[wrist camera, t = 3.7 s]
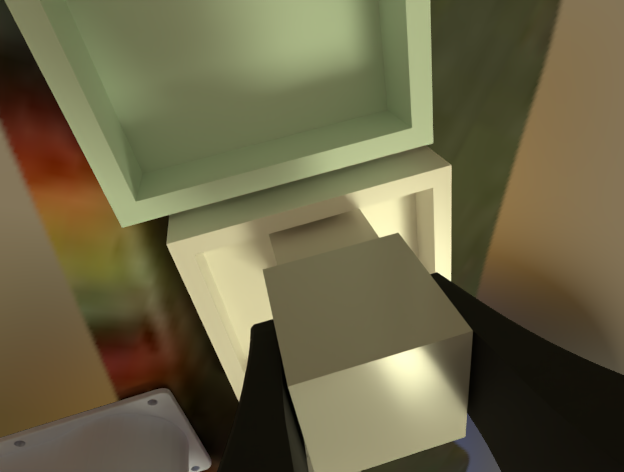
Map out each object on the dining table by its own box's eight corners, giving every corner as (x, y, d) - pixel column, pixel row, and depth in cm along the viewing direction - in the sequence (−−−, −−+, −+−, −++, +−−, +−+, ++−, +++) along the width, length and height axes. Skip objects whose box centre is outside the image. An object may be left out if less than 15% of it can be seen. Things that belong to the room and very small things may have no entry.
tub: (132, 190, 17) (122, 227, 15) (-56, -207, 11) (-130, -259, 8) (401, 119, 18) (433, 143, 16) (375, -282, 12) (422, -347, 9)
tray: (242, 382, 25) (247, 419, 23) (169, 212, 18) (166, 244, 16) (430, 323, 26) (450, 354, 24) (423, 144, 19) (451, 165, 17)
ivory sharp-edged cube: (284, 288, 21) (301, 348, 18) (265, 221, 19) (280, 275, 15) (361, 266, 21) (392, 320, 18) (351, 197, 19) (384, 244, 16)
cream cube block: (289, 363, 14) (318, 484, 11) (262, 269, 12) (287, 387, 9) (404, 329, 14) (465, 436, 11) (398, 232, 12) (472, 331, 9)
